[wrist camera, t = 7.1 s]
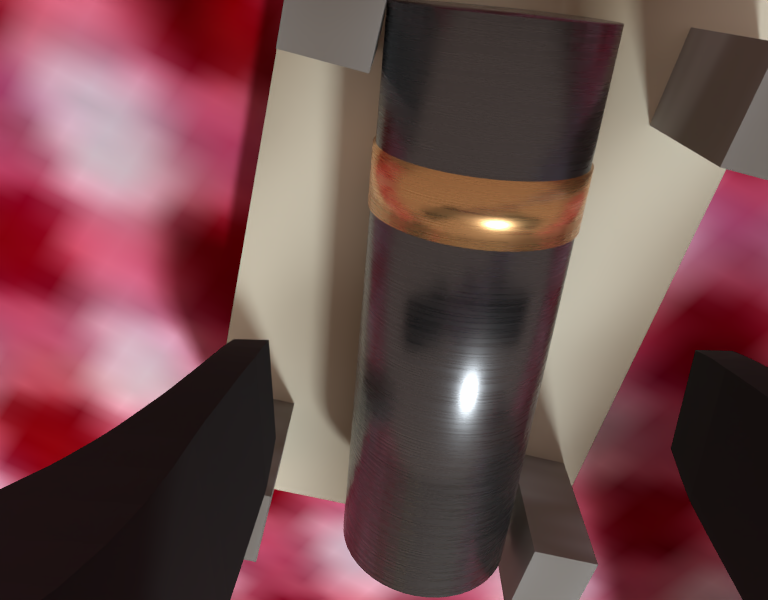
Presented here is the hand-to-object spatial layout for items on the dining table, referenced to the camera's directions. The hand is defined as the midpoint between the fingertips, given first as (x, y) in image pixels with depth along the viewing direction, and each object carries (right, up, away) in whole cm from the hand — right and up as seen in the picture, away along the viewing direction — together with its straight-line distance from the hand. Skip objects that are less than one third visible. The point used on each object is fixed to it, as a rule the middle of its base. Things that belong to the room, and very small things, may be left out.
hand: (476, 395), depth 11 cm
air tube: (0, +2, +4) cm, 5 cm away
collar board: (0, +3, +5) cm, 6 cm away
